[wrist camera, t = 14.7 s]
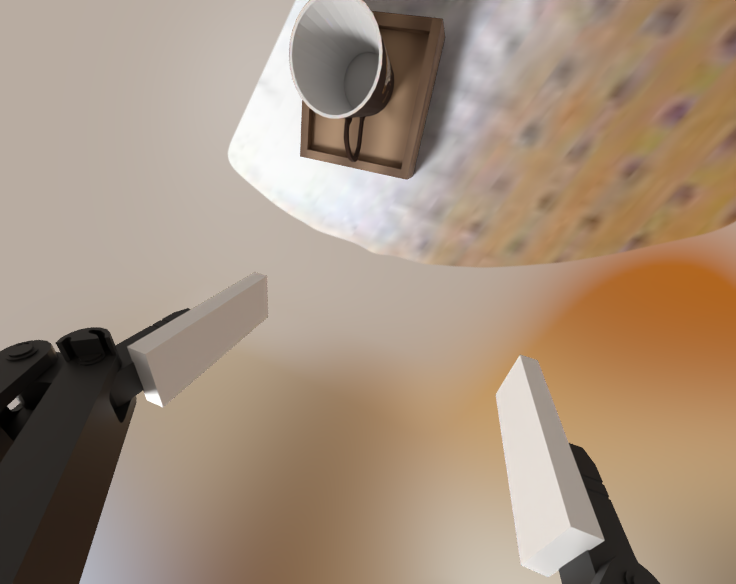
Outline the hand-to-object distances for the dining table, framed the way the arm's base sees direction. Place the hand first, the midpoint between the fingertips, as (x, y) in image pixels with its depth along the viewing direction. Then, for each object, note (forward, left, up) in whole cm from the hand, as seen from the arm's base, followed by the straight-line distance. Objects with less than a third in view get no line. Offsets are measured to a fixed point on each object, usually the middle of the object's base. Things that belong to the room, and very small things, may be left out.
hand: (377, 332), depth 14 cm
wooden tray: (+12, -12, -31) cm, 35 cm away
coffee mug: (+12, -12, -27) cm, 32 cm away
